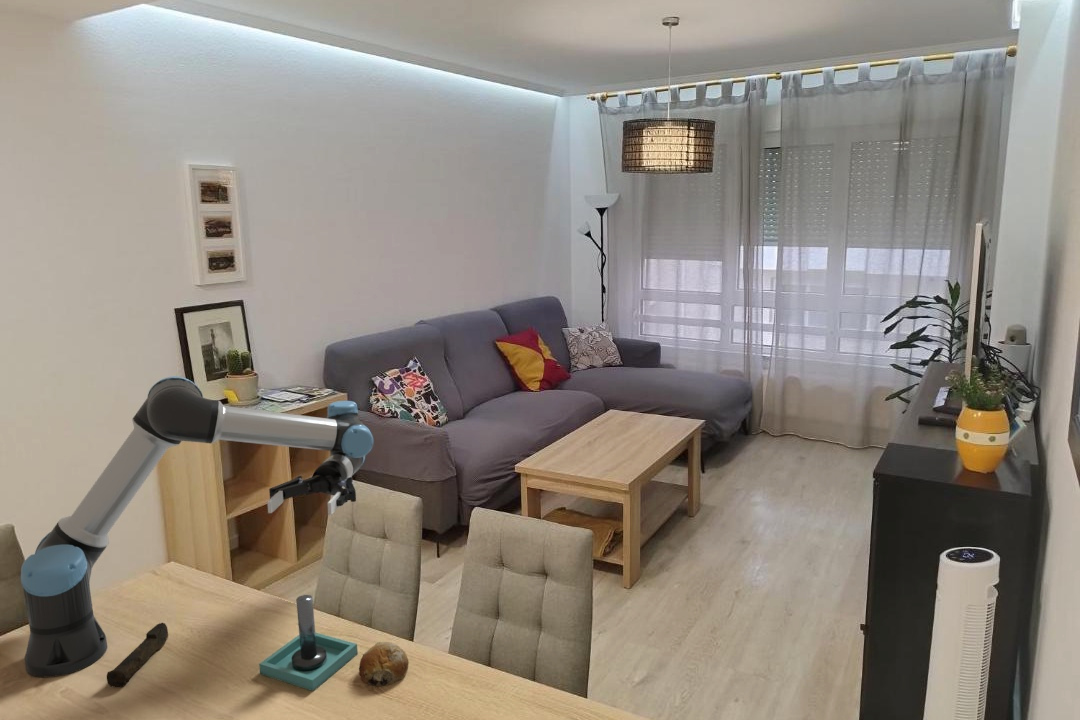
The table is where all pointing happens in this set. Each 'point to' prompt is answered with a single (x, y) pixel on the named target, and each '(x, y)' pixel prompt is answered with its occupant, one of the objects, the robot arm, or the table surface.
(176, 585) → the table surface
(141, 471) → the robot arm
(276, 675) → the tray
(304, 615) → the joystick
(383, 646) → the bread roll
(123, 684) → the hand tool
